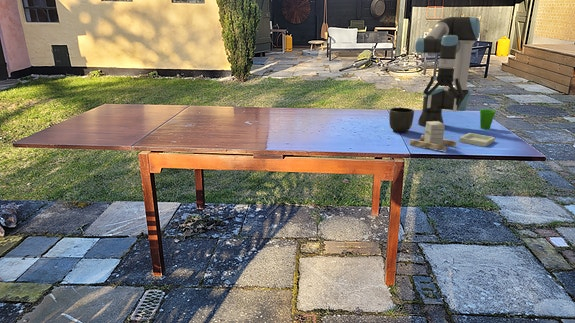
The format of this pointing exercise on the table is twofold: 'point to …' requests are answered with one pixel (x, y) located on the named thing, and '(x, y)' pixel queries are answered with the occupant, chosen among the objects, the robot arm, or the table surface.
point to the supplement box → (434, 132)
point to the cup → (486, 118)
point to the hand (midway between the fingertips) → (441, 109)
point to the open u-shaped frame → (431, 145)
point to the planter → (401, 119)
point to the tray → (477, 139)
